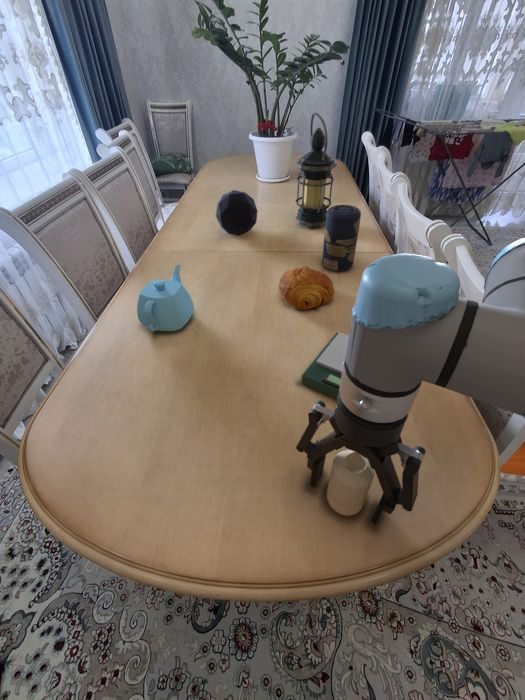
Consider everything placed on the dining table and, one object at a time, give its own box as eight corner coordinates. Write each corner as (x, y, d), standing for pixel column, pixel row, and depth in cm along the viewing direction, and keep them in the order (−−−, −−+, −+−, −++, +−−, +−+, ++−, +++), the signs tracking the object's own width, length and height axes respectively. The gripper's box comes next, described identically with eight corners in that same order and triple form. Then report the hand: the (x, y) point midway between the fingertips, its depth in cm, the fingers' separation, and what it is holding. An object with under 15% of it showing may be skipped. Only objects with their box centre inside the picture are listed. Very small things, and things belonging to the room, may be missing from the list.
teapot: (201, 264, 86) (168, 304, 73) (206, 301, 94) (177, 343, 81) (155, 259, 89) (116, 297, 76) (164, 295, 96) (129, 335, 83)
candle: (331, 475, 55) (338, 438, 49) (366, 487, 54) (379, 451, 47) (322, 508, 51) (329, 473, 45) (360, 521, 50) (373, 487, 43)
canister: (345, 276, 102) (355, 214, 90) (316, 268, 106) (321, 208, 94) (357, 262, 108) (367, 202, 96) (328, 255, 112) (335, 197, 100)
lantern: (335, 229, 128) (349, 114, 104) (300, 233, 125) (307, 117, 102) (321, 215, 138) (331, 108, 115) (289, 218, 136) (293, 110, 113)
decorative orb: (211, 210, 130) (211, 183, 115) (250, 206, 132) (255, 178, 118) (219, 245, 127) (220, 221, 112) (259, 239, 130) (265, 216, 115)
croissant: (279, 317, 91) (279, 294, 85) (278, 280, 101) (277, 256, 95) (335, 316, 90) (339, 292, 84) (328, 278, 100) (331, 254, 94)
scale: (396, 363, 74) (399, 351, 72) (368, 413, 64) (371, 402, 62) (335, 340, 80) (337, 329, 78) (301, 383, 70) (302, 372, 68)
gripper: (269, 379, 40) (270, 479, 55) (478, 477, 30) (411, 565, 45) (302, 343, 44) (294, 444, 59) (491, 419, 35) (426, 516, 50)
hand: (345, 497), depth 52 cm, fingers open, 9 cm apart
